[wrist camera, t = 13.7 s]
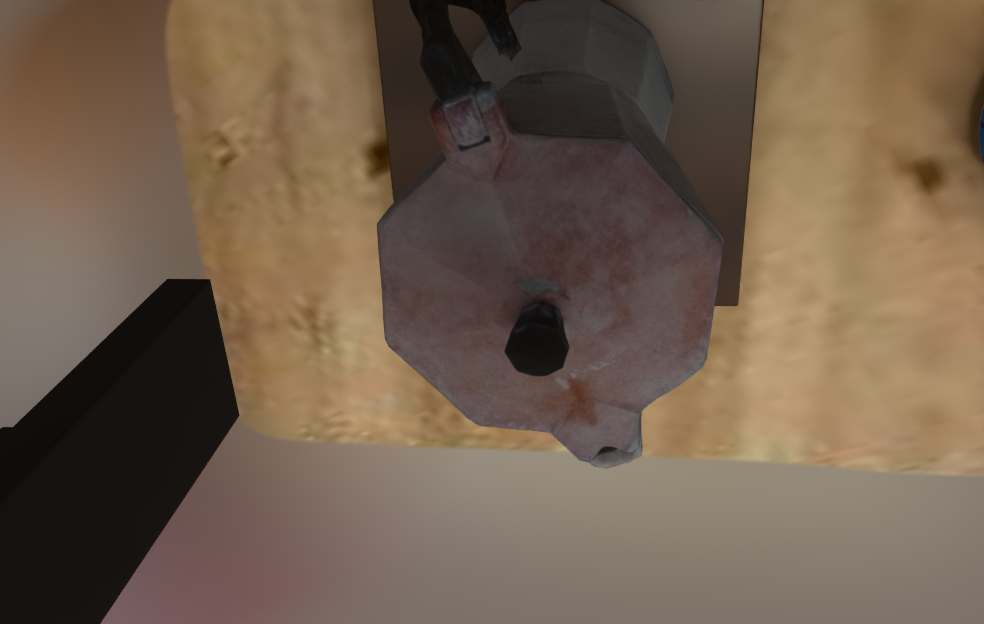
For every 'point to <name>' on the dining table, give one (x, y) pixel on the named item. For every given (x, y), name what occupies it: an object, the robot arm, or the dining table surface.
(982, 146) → the beer can
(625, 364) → the moka pot
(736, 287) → the walnut trivet
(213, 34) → the dining table surface
